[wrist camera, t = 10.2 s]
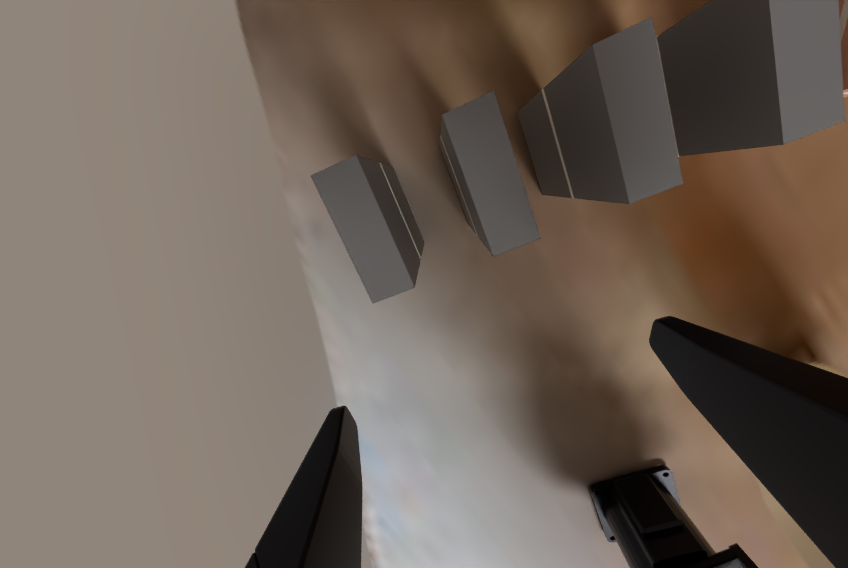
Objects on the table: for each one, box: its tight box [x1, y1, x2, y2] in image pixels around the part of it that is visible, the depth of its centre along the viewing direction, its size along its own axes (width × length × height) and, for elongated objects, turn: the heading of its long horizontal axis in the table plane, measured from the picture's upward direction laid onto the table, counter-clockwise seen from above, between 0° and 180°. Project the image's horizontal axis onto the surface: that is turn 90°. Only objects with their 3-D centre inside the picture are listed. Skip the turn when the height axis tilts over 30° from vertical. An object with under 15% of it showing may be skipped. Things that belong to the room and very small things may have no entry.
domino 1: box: [311, 155, 424, 303], centre depth 17 cm, size 5×2×10 cm, turn 23°
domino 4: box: [656, 0, 845, 157], centre depth 15 cm, size 5×2×10 cm, turn 22°
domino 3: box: [517, 17, 683, 204], centre depth 15 cm, size 5×2×10 cm, turn 23°
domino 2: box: [440, 91, 541, 257], centre depth 16 cm, size 5×2×10 cm, turn 23°
